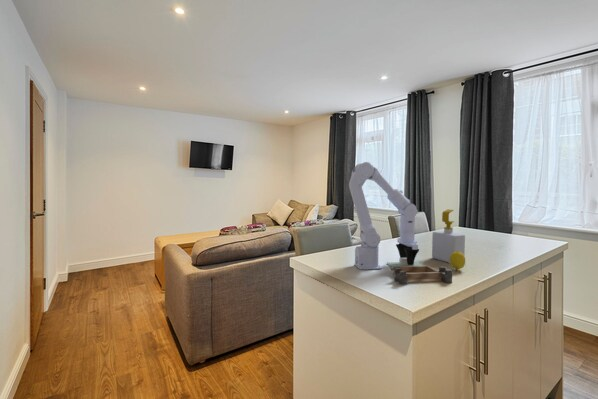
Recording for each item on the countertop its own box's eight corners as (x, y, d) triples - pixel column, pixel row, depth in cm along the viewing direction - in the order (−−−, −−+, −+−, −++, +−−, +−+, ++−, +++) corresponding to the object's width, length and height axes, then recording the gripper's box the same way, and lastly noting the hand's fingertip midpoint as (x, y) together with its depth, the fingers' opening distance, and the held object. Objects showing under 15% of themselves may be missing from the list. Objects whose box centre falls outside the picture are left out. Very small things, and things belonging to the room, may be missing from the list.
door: (392, 271, 114) (392, 261, 114) (383, 264, 123) (383, 255, 123) (432, 270, 115) (432, 260, 115) (420, 263, 125) (420, 254, 125)
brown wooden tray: (400, 284, 98) (400, 272, 97) (387, 274, 109) (387, 263, 109) (451, 282, 99) (452, 270, 99) (433, 272, 111) (434, 261, 110)
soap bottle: (464, 263, 124) (466, 210, 123) (454, 264, 122) (455, 211, 120) (441, 256, 135) (442, 208, 134) (431, 258, 133) (432, 208, 132)
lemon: (446, 268, 117) (447, 249, 116) (459, 267, 117) (459, 249, 117) (455, 272, 111) (455, 252, 111) (468, 272, 112) (468, 252, 111)
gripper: (425, 233, 112) (424, 267, 113) (408, 228, 126) (407, 257, 127) (408, 234, 111) (408, 267, 112) (393, 228, 126) (392, 258, 126)
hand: (406, 262), depth 119 cm, fingers open, 6 cm apart
